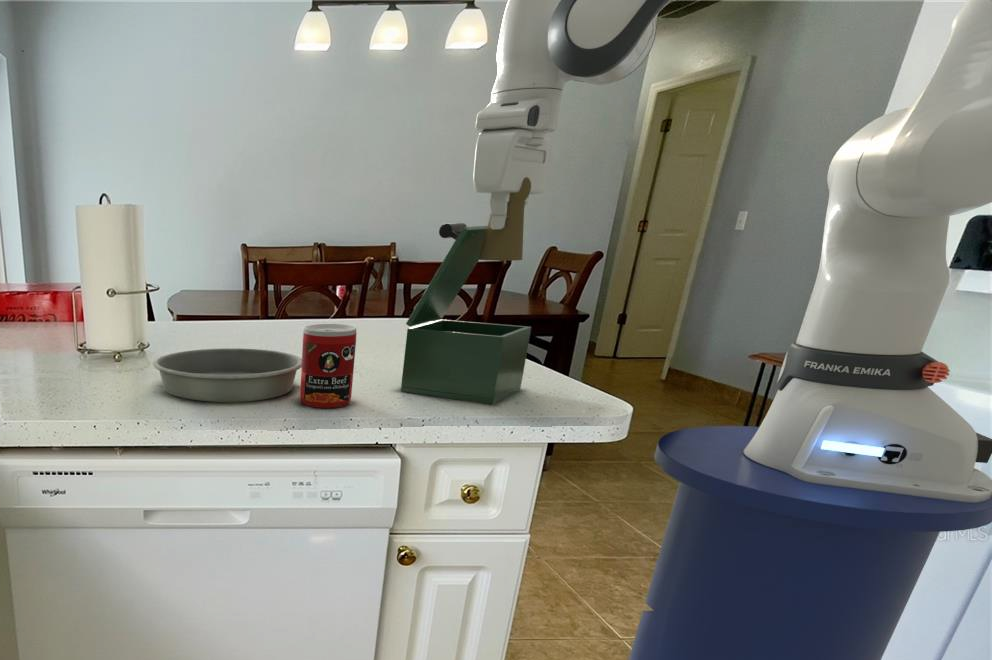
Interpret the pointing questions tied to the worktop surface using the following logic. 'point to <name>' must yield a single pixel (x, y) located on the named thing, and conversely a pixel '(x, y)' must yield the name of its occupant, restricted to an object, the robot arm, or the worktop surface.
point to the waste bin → (465, 360)
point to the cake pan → (228, 374)
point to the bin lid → (450, 272)
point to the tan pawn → (507, 230)
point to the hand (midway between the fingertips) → (505, 228)
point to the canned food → (327, 365)
